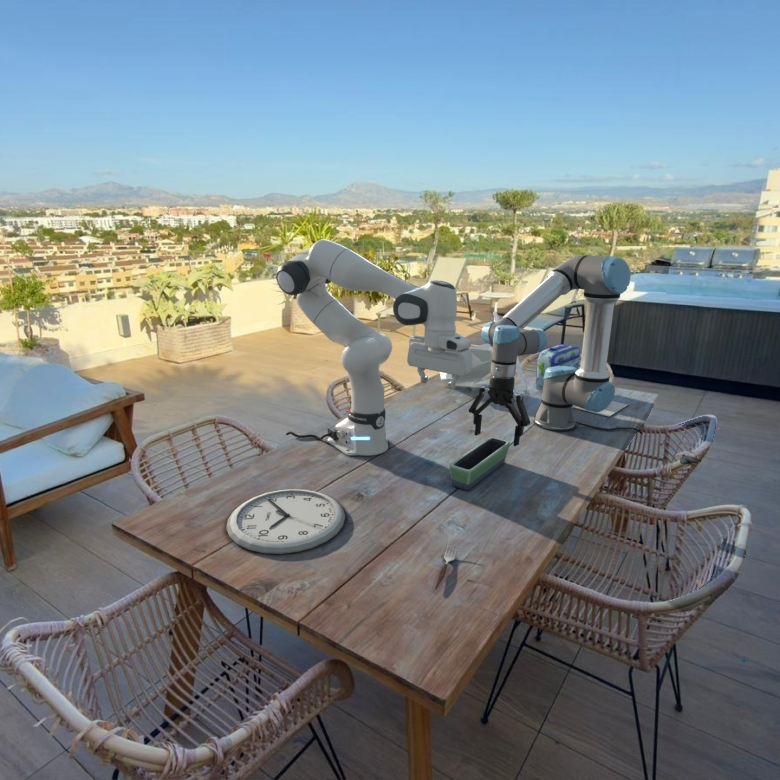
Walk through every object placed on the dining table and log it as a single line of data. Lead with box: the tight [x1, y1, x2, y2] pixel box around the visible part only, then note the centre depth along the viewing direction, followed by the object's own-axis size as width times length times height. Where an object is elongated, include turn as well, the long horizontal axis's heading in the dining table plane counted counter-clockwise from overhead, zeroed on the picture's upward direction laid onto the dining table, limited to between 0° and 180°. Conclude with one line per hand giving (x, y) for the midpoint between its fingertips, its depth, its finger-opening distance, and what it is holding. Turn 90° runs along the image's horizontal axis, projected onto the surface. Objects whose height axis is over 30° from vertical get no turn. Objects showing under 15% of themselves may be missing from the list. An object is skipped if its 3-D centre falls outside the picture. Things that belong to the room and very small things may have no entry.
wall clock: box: [226, 488, 346, 555], centre depth 135 cm, size 30×2×30 cm
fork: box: [434, 542, 459, 590], centre depth 116 cm, size 3×16×2 cm, turn 160°
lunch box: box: [535, 344, 581, 392], centre depth 247 cm, size 26×11×21 cm, turn 134°
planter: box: [449, 437, 511, 491], centre depth 162 cm, size 28×7×7 cm, turn 143°
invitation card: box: [573, 400, 629, 418], centre depth 226 cm, size 21×1×15 cm
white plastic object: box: [439, 310, 531, 397], centre depth 245 cm, size 37×45×31 cm
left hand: (437, 385), depth 153 cm, fingers open, 8 cm apart
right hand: (496, 439), depth 168 cm, fingers open, 13 cm apart
